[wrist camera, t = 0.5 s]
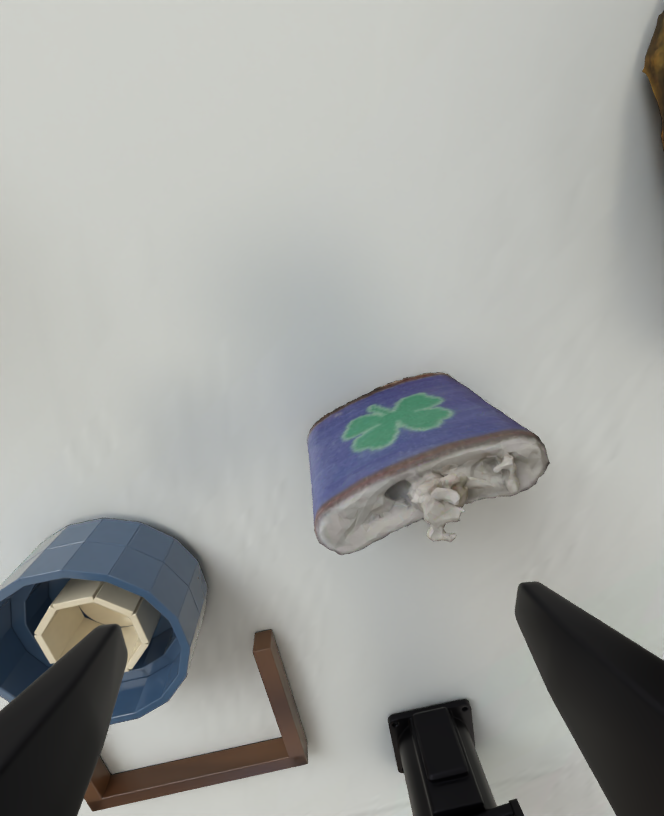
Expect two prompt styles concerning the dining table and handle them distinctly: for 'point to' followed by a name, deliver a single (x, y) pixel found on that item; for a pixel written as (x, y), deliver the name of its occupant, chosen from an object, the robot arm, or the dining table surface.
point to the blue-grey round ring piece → (125, 568)
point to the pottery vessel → (657, 67)
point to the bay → (217, 764)
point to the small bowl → (96, 618)
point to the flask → (413, 460)
